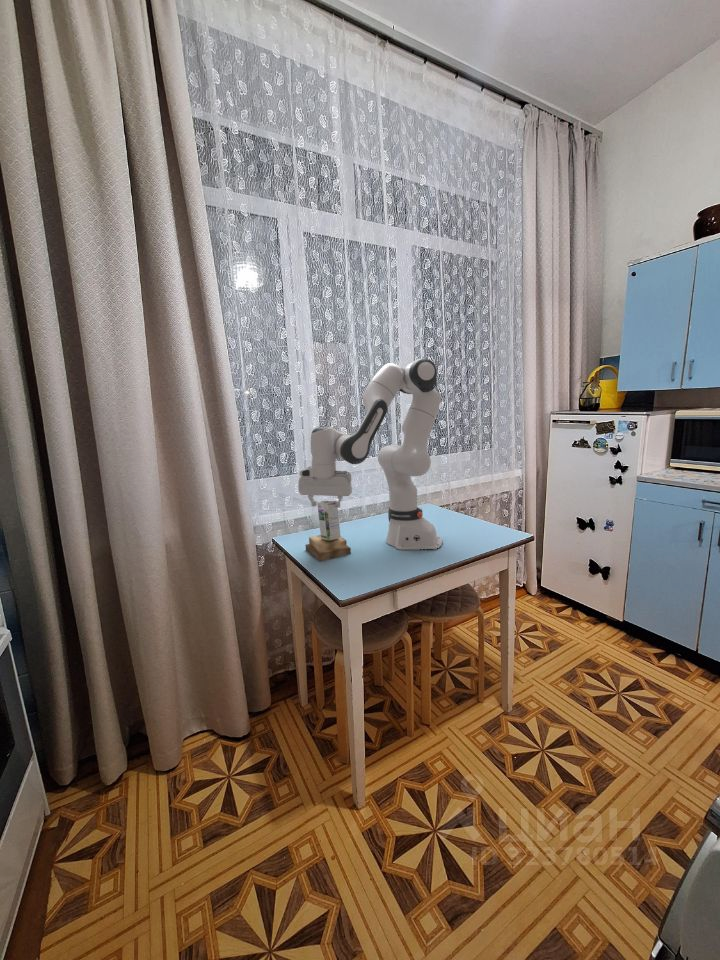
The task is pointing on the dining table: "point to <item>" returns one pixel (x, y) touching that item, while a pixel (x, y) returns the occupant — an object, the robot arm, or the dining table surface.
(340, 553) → the walnut base slab
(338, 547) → the oak top slab
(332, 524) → the syrup box
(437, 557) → the dining table surface
